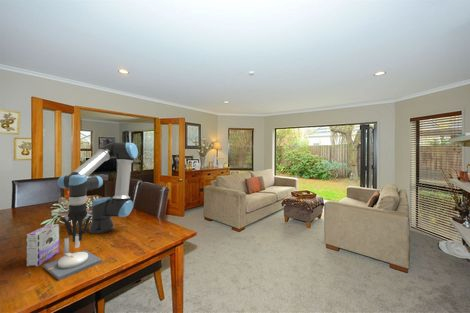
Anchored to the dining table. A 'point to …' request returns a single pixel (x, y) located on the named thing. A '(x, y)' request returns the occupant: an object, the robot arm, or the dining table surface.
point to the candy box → (42, 244)
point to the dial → (71, 257)
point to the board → (65, 272)
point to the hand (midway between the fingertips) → (77, 246)
